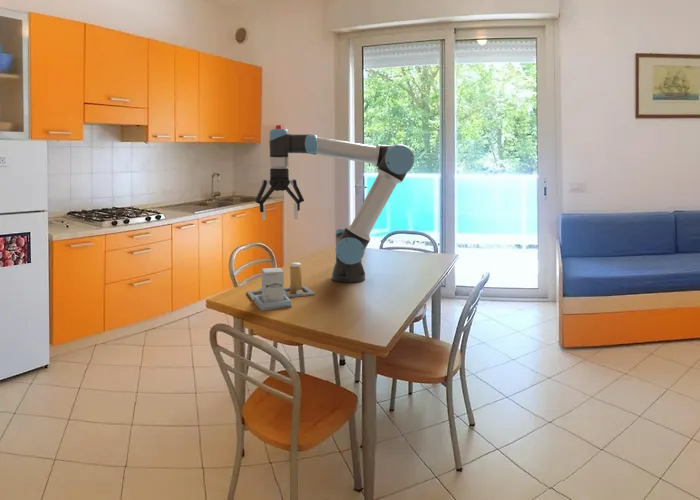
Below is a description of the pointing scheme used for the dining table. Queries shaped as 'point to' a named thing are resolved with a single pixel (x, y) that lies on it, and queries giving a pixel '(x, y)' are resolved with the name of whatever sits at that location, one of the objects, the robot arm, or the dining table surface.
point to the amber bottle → (295, 277)
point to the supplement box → (272, 285)
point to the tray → (272, 303)
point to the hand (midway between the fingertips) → (280, 219)
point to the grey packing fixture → (298, 293)
